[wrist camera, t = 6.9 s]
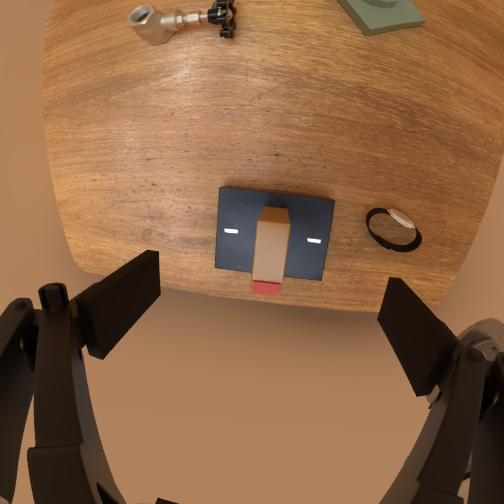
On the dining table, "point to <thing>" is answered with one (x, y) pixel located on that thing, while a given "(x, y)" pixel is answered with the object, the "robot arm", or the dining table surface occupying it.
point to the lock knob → (270, 251)
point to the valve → (179, 20)
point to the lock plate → (300, 238)
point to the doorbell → (382, 15)
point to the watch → (401, 219)
